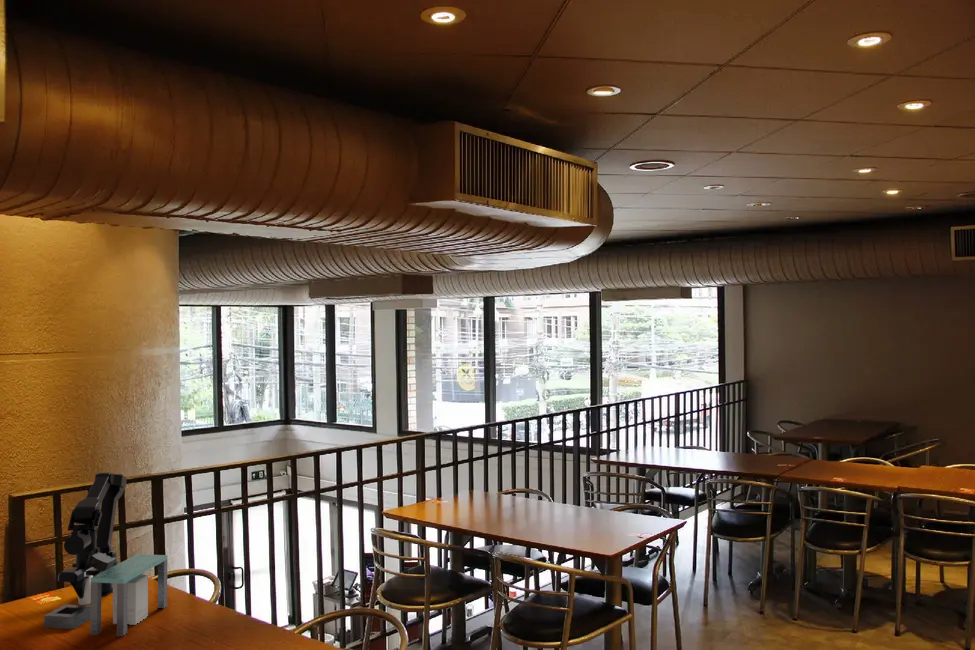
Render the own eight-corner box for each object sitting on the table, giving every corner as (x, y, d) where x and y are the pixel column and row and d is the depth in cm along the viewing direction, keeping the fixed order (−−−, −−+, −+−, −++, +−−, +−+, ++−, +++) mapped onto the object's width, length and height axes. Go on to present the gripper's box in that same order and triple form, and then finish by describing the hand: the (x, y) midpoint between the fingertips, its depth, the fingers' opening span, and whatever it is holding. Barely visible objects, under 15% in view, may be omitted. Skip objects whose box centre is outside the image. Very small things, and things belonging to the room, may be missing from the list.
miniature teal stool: (137, 605, 248) (137, 554, 248) (167, 607, 247) (167, 555, 247) (90, 634, 224) (90, 578, 224) (123, 636, 223) (123, 579, 223)
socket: (64, 616, 239) (64, 604, 239) (92, 617, 238) (93, 605, 238) (44, 627, 229) (44, 615, 229) (73, 629, 228) (73, 617, 228)
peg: (83, 600, 247) (83, 574, 247) (95, 600, 246) (95, 575, 246) (75, 604, 243) (75, 578, 243) (87, 605, 242) (87, 579, 242)
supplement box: (148, 616, 239) (149, 574, 239) (135, 625, 232) (135, 582, 232) (125, 615, 240) (126, 573, 240) (111, 624, 232) (112, 581, 232)
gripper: (91, 555, 234) (91, 607, 234) (127, 538, 253) (127, 587, 253) (57, 553, 236) (56, 606, 236) (95, 537, 254) (94, 585, 254)
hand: (85, 595), depth 245 cm, fingers closed on peg, 4 cm apart
